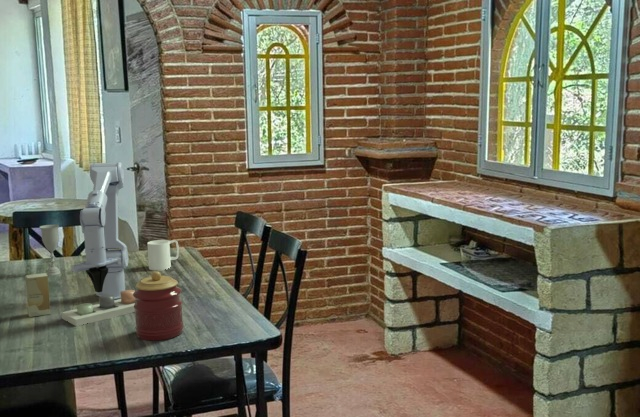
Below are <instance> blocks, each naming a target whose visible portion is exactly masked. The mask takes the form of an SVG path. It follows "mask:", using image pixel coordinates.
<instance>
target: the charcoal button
mask: <svg viewBox="0 0 640 417" xmlns="http://www.w3.org/2000/svg"><path fill="white" fill-rule="evenodd" d="M114 300H115V299H114V295H111V294H108V295H102V296H100V297H99V296H98V302H99V303H98V304H100V308H101V309H109V308H113V307H115V302H114Z"/></svg>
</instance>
